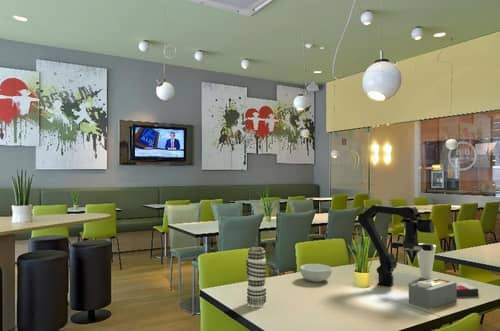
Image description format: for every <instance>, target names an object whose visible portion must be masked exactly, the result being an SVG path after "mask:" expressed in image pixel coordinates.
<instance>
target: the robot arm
mask: <svg viewBox="0 0 500 331" xmlns="http://www.w3.org/2000/svg"><path fill="white" fill-rule="evenodd" d="M378 213H379V214H387V215H397V216H399V217H400V218H401V217H402V219H401V220H400V223H404V231H405V232H404V233H405V234H404V238H403V240H402V241H397V240H395V241H393V242H391V244H390V246H391V249H398V248H403V251H405V252H406V254H407V256H408V258H409V261H410V264H413V265H414V263H415V260H416V257H417V253H418V252H419V251H420V250H421V249H423V250H424V251H432V250H433V245H434V244H433V245H432V243H427V242H426V243H425V242H424V244H423V245H419V233H422V234H424V233H425V234H434V233H435V224H434V222H433V218H423V217H422V215H421V214H420V212H419V209H418V208H417V206H413V205H412V206H411V205H410V206H400V207H399V206H390V205H383V204H382V205H381V204H372V205H371V206H370V207H369V208H368V209H366V210H364V212H361V213H360V214H358V216H357V222H358V223H359V225H360V226H361V227H362V228H363V229H364V230H365V231H366V233H367V235H368V237H369V239H370V241H371V243H372V244H373V246H374V248H375V250H376V252H377V254H378V258H379V259H378V261H379V264H380V265H379V266H378V267H377V268H376V273H377V274H378V282H377V285H379V286H385V287H392V286H393V285H394V275H393V272H394V270H395V269H397V267H398V266H397V265H398V262H397V261H398V259H396V257H395V254H394V253H389V251H388V250H387V249H386V246H385V244H384V242H383V241H382V238H381V237H380V234H379V233H378V231H377V229H376V227H375V226H376V225H375V217H376V216H377V215H378ZM418 232H419V233H418ZM420 248H421V249H420Z"/></svg>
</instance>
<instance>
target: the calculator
mask: <svg viewBox="0 0 500 331" xmlns="http://www.w3.org/2000/svg"><path fill="white" fill-rule="evenodd" d="M456 286H457V298H464V297H465V298H466V297H471V298H472V297H474V298H476V297H479V296H480V295H479V288H477V287H475V286H473V285H470V284H469V283H465V282H456Z"/></svg>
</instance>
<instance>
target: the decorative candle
mask: <svg viewBox="0 0 500 331" xmlns="http://www.w3.org/2000/svg"><path fill="white" fill-rule="evenodd" d="M266 252H267V251H266V250H265V249H264V247H262V246H252V247H250V248H249V249H248V250H247V260H246V261H245V262H246V263H245V264H246V268H245V269H246V278H247V288H246V294H247V296H246V303H247V304H248V305H249V306H252V307H251V308H254V307H260V308H263V306H264V307H266V306H267V296H266V295H267V292H266V291H267V288H266V279H267V275H266V274H267V271H265V270H267V269H268V267H267V264H268V263H266ZM248 305H247V306H248ZM265 305H266V306H265ZM249 306H248V307H249Z"/></svg>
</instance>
